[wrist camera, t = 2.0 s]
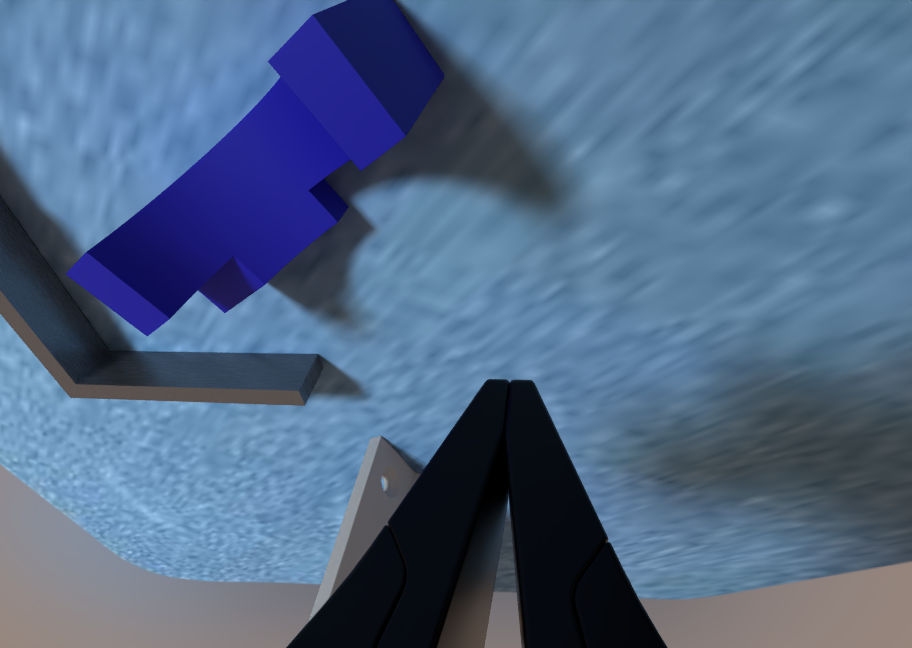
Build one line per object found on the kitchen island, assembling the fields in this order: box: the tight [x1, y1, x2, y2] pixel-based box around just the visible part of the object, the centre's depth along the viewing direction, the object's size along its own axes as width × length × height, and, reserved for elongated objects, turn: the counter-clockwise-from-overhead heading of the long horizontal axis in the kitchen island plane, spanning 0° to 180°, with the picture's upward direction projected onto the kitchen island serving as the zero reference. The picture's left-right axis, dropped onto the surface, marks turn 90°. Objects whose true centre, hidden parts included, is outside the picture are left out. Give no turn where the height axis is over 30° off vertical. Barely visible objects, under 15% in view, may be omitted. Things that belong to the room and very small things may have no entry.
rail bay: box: [0, 197, 323, 406], centre depth 19 cm, size 13×20×3 cm, turn 6°
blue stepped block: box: [66, 0, 445, 336], centre depth 16 cm, size 12×4×6 cm, turn 127°
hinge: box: [309, 436, 421, 621], centre depth 29 cm, size 14×5×10 cm, turn 4°
